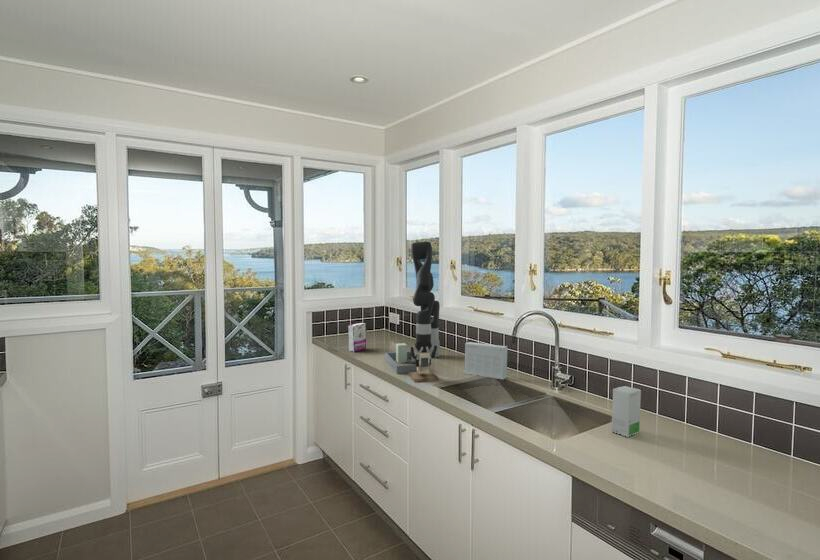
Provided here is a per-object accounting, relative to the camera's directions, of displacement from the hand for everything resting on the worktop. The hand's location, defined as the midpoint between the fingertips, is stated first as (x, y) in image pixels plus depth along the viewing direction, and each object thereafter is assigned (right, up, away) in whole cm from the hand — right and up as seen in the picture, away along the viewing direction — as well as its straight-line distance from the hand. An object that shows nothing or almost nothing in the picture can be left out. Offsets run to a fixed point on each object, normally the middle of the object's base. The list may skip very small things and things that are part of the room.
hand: (423, 366), depth 226 cm
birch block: (0, -3, 0) cm, 3 cm away
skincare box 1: (+32, -6, +6) cm, 33 cm away
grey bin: (-9, -4, +24) cm, 26 cm away
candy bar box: (-39, -1, +59) cm, 71 cm away
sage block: (-11, -3, +31) cm, 34 cm away
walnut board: (0, -6, 0) cm, 6 cm away
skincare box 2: (+70, -11, -64) cm, 95 cm away
